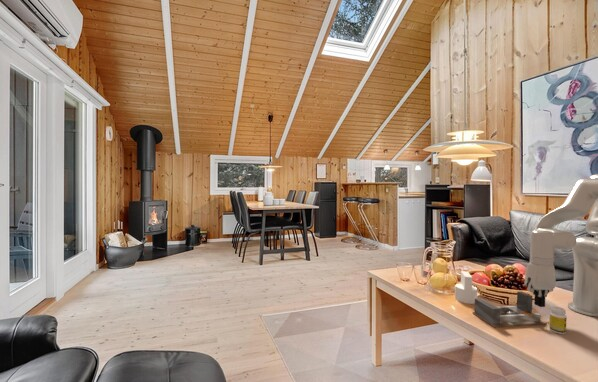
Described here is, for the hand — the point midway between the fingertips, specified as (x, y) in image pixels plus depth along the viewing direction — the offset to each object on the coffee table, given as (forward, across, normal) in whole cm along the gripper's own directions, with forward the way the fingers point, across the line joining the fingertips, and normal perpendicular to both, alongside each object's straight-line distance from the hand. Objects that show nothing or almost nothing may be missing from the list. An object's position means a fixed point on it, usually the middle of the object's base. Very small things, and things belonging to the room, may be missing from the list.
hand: (539, 305), depth 123 cm
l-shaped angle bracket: (+4, +10, +2) cm, 11 cm away
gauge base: (+5, +14, 0) cm, 15 cm away
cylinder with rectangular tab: (+5, +18, -20) cm, 27 cm away
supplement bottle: (+5, +4, +11) cm, 13 cm away
